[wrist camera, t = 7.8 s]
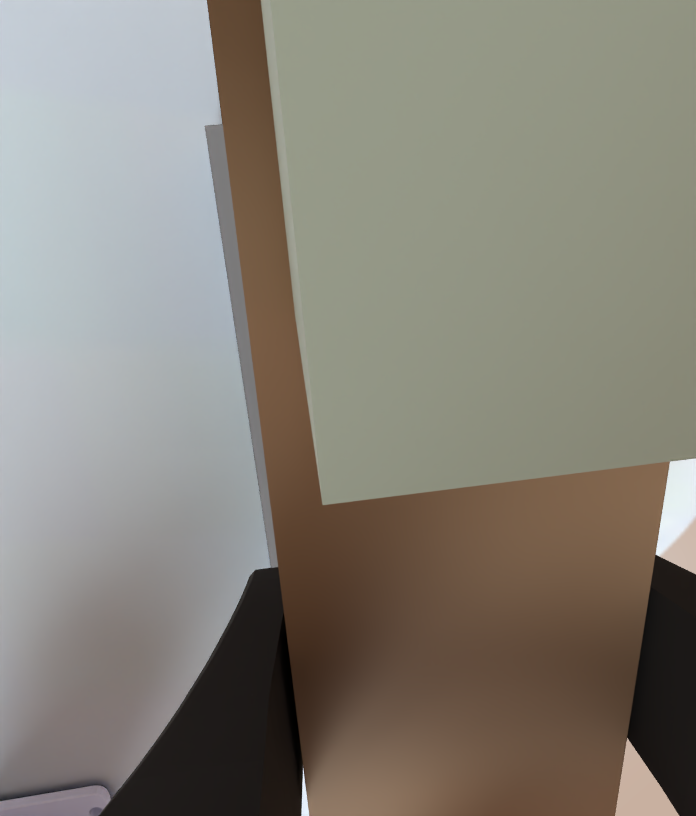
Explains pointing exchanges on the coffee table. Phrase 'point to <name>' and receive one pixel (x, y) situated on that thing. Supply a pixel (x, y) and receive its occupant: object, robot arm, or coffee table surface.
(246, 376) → the block
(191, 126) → the coffee table surface
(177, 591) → the coffee table surface
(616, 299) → the pale green cube
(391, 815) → the brown wooden bar
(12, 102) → the coffee table surface
